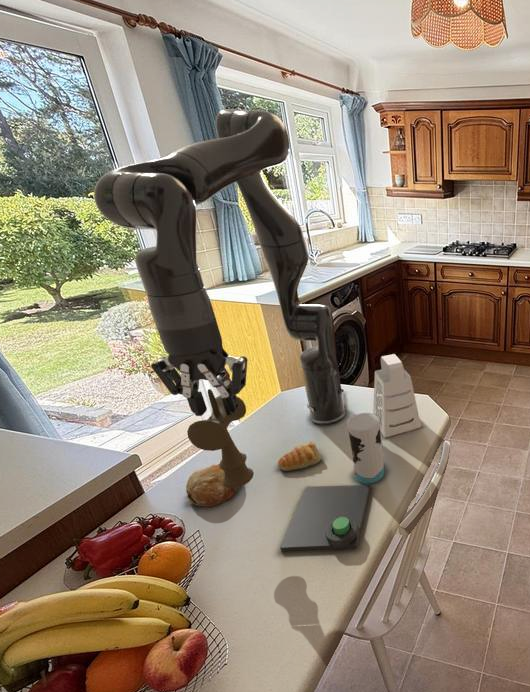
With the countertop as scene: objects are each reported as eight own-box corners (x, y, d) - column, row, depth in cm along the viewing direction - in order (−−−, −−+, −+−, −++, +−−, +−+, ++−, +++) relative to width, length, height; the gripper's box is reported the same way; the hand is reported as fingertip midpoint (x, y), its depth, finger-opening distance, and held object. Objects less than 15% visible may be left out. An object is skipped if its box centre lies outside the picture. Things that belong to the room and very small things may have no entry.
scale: (307, 490, 91) (304, 480, 89) (370, 488, 92) (369, 478, 90) (280, 554, 76) (277, 543, 75) (356, 550, 77) (354, 540, 76)
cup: (383, 462, 100) (378, 411, 93) (385, 481, 94) (379, 428, 87) (355, 466, 98) (347, 414, 91) (355, 485, 93) (347, 432, 86)
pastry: (283, 478, 94) (280, 465, 92) (275, 462, 99) (272, 450, 97) (323, 461, 99) (321, 449, 98) (314, 448, 104) (311, 436, 102)
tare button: (335, 523, 80) (334, 517, 79) (351, 522, 80) (350, 516, 79) (332, 536, 77) (330, 529, 76) (348, 535, 77) (347, 528, 76)
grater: (384, 437, 109) (377, 371, 100) (373, 418, 117) (365, 355, 108) (421, 426, 113) (417, 363, 104) (407, 408, 122) (403, 348, 112)
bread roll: (191, 506, 90) (165, 492, 84) (222, 465, 96) (200, 449, 90) (224, 519, 88) (199, 505, 81) (254, 475, 93) (233, 460, 87)
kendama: (210, 501, 71) (173, 405, 62) (232, 464, 80) (203, 375, 71) (246, 498, 72) (215, 404, 63) (264, 462, 81) (239, 374, 71)
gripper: (246, 310, 65) (269, 400, 73) (152, 310, 64) (185, 401, 72) (222, 328, 58) (251, 425, 66) (117, 328, 57) (159, 427, 65)
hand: (216, 412), depth 69 cm, fingers closed on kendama, 4 cm apart
